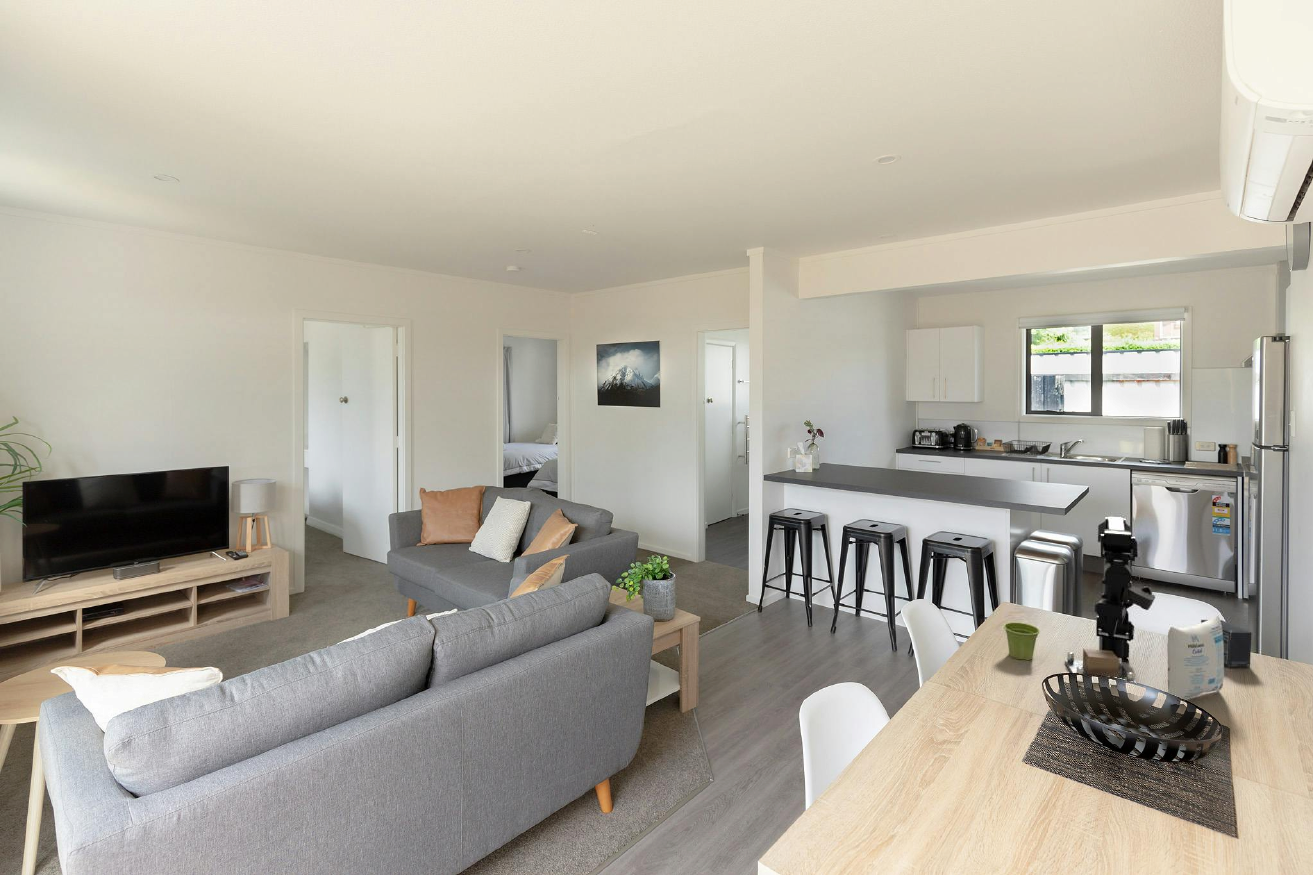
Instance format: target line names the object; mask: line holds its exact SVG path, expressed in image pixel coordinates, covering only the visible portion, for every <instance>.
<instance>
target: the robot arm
mask: <svg viewBox="0 0 1313 875" xmlns="http://www.w3.org/2000/svg"><path fill="white" fill-rule="evenodd" d="M1104 519H1105V520H1104V521H1103V522H1101V523H1100V524H1098V525H1097V542H1098V543H1100V548H1099V549H1100V558H1101V559H1103V560H1104V561H1103V578H1102V580H1101V584H1102V585H1103V593H1102V594H1101V599H1100V600H1099V601H1097V603H1095V604H1094V612H1095V613H1096V622H1095V623H1096V626H1095V627H1096V630H1095V631H1096V632H1095V634H1096V635H1095V636H1096V637H1098V641H1099V642H1098V650H1105V651H1112V652H1113V653H1114V654H1115V655H1116V657H1120V658H1122V662H1128V663H1129V661H1130V660H1129V659H1128V658H1130V643H1128V642H1131V641H1134V638H1135V636H1134V633H1135V625H1133V622H1132V620H1131V619H1129V618H1130V617H1129V611H1128V609H1129V608H1131V607H1132V606H1134V605H1136V606H1138V607H1140V608H1141V609H1143V610H1146V611H1149V609H1150V608H1151V606H1152V605H1153V603H1154V601H1155V599H1156V595H1155V594H1153V590H1152V588H1151V587H1148V586H1146V585H1145V586H1143V587H1134V585H1133V581H1131V580H1132V573H1131V569H1130V567H1131V566H1130V562H1135V561H1136V558H1138V541H1137V540H1136V537H1135V536H1132V527H1131V526H1130V525H1129V524H1127V522H1126V521H1127V520H1126V518H1123V517H1118V516H1117V517H1116V516H1115V517H1114V516H1108V517H1105V518H1104Z"/></svg>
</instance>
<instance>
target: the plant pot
mask: <svg viewBox="0 0 1313 875" xmlns="http://www.w3.org/2000/svg"><path fill="white" fill-rule="evenodd" d="M1003 628H1004V631H1005V633H1006V639H1007V645H1008V654H1009V656H1010V657H1012V658H1014V659H1017V660H1026V661H1029V660H1032V659H1033V657H1034V652H1035V645H1036V642H1037V641H1036V640H1037V638H1038V635H1039V634H1040V628H1038V627H1037V626H1034V625H1032V624H1029V623H1028V624H1027V623H1025V622H1007V623H1005V624H1003Z"/></svg>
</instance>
